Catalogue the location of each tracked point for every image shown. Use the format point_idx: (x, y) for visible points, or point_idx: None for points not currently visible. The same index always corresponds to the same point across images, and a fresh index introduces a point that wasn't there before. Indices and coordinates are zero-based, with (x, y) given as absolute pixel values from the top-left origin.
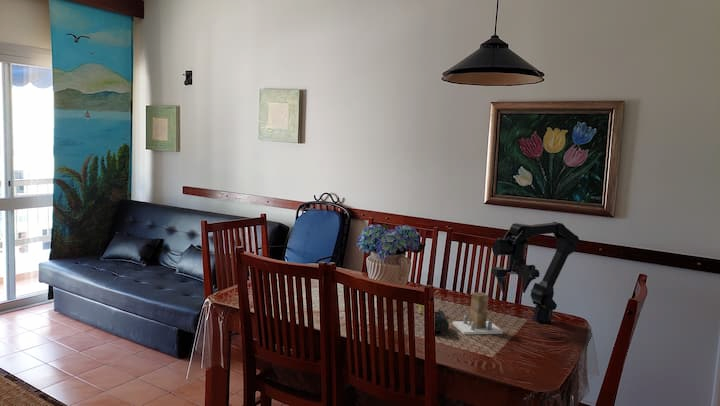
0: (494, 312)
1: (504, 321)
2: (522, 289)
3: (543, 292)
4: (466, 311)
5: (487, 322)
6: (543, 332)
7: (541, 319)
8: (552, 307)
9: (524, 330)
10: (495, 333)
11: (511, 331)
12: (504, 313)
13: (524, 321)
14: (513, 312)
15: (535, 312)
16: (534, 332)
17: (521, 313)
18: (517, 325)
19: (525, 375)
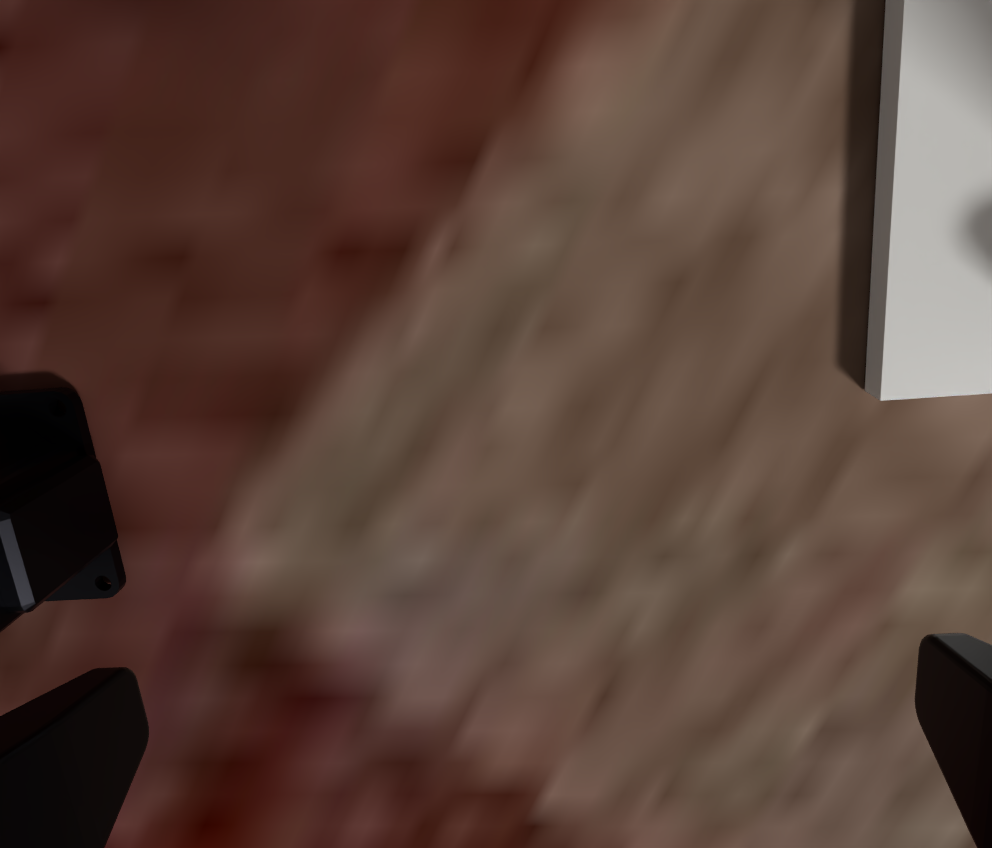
0: (567, 786)
1: (581, 472)
2: (107, 818)
3: None
4: (956, 819)
5: (956, 332)
6: (146, 25)
7: (16, 443)
8: None
9: (428, 104)
10: None
11: (671, 46)
12: (441, 754)
13: (275, 478)
14: (300, 786)
15: (44, 544)
16: (296, 18)
17: (204, 754)
18: (450, 318)
19: None
